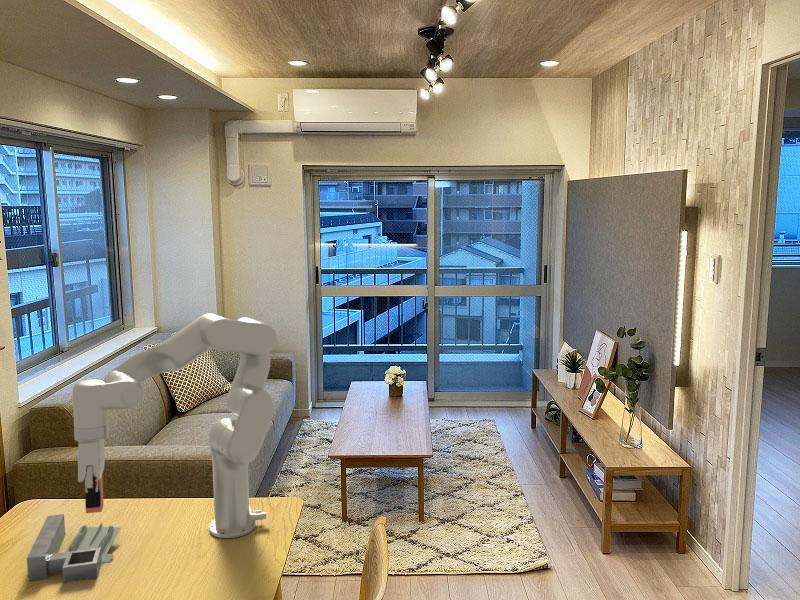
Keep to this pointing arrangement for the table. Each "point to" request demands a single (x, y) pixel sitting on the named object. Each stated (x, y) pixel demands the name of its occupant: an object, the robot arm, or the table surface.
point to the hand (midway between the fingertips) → (94, 502)
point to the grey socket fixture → (60, 555)
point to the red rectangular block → (99, 509)
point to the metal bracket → (95, 540)
